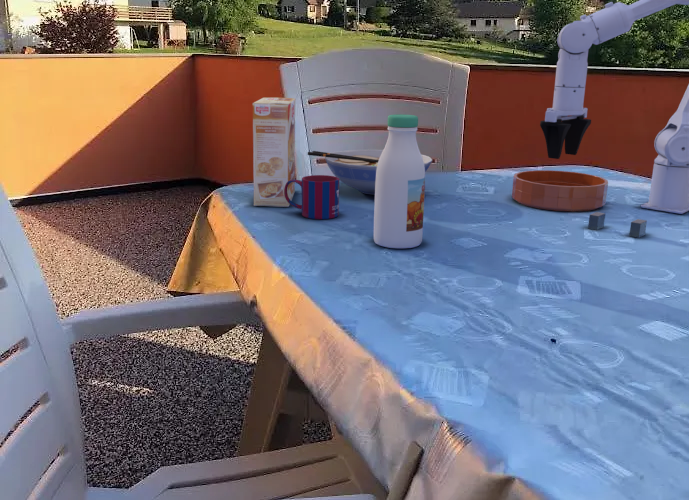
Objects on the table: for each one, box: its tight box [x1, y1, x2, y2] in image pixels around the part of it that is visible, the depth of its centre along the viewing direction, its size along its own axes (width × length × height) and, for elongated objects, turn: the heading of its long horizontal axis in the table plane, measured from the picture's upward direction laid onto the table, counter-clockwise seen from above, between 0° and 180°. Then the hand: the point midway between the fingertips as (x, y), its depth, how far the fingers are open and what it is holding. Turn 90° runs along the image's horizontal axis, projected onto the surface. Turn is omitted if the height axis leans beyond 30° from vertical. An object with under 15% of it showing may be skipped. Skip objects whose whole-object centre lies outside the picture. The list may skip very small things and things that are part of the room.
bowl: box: [511, 169, 609, 212], centre depth 144 cm, size 18×18×5 cm
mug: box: [284, 174, 340, 220], centre depth 129 cm, size 7×10×7 cm
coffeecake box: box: [252, 97, 296, 208], centre depth 139 cm, size 15×7×20 cm, turn 179°
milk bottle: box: [373, 114, 426, 249], centre depth 110 cm, size 8×8×20 cm
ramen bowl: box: [307, 149, 433, 196], centre depth 150 cm, size 25×23×8 cm
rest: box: [587, 211, 648, 239], centre depth 122 cm, size 9×3×2 cm, turn 48°
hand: (562, 156), depth 142 cm, fingers open, 7 cm apart
